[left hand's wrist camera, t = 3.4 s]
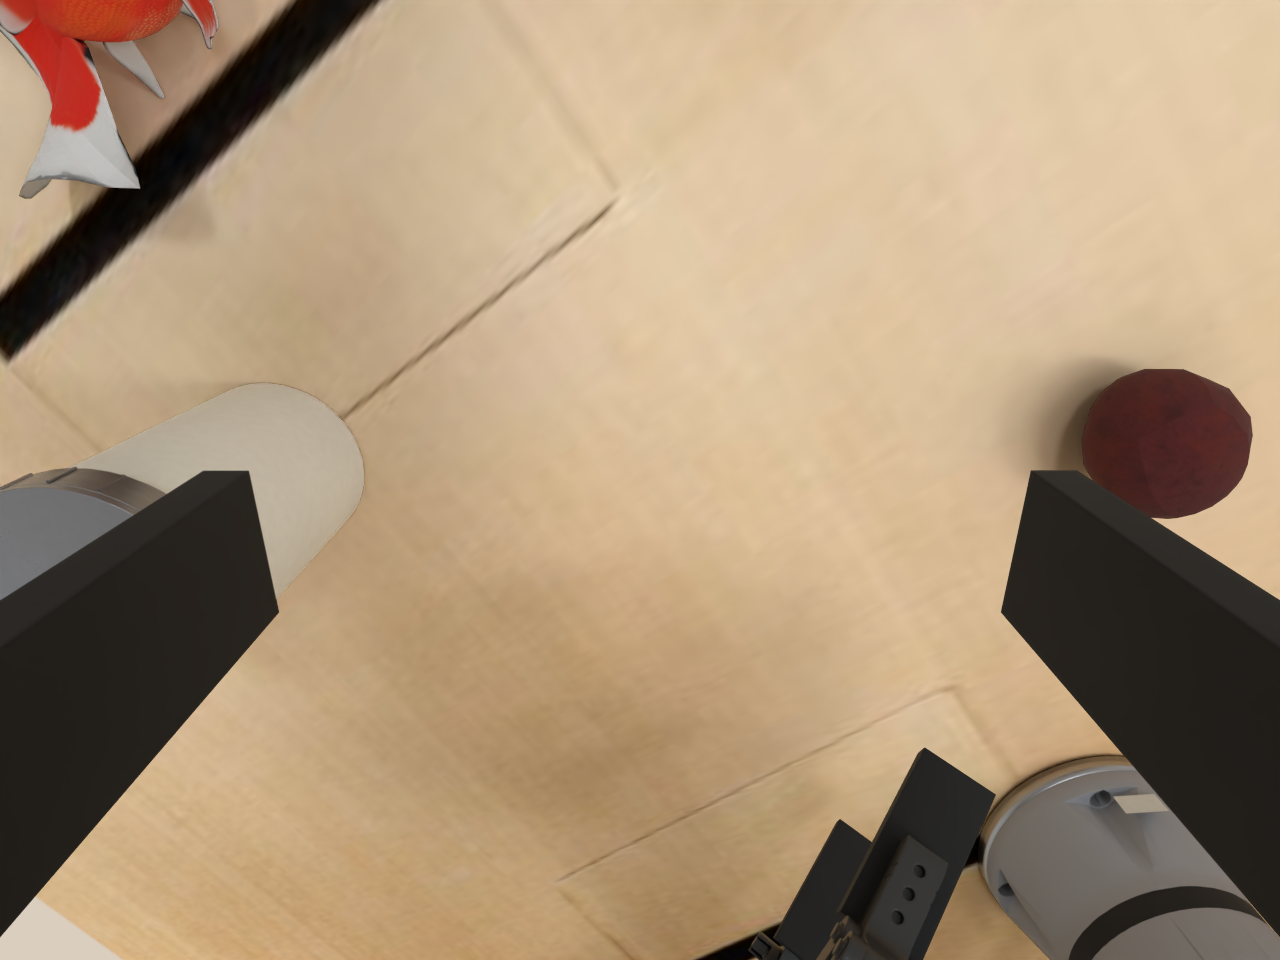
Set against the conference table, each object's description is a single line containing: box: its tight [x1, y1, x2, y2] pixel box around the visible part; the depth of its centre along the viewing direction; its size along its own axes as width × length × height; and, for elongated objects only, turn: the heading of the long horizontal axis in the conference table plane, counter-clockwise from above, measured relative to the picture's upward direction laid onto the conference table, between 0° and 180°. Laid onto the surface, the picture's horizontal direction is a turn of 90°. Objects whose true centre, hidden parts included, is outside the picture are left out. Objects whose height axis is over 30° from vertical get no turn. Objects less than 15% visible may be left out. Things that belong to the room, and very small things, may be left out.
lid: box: [0, 467, 166, 600], centre depth 28 cm, size 10×10×2 cm
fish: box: [0, 0, 219, 199], centre depth 31 cm, size 11×16×10 cm
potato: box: [1082, 369, 1253, 519], centre depth 37 cm, size 7×8×7 cm
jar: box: [69, 383, 364, 600], centre depth 35 cm, size 10×10×16 cm
